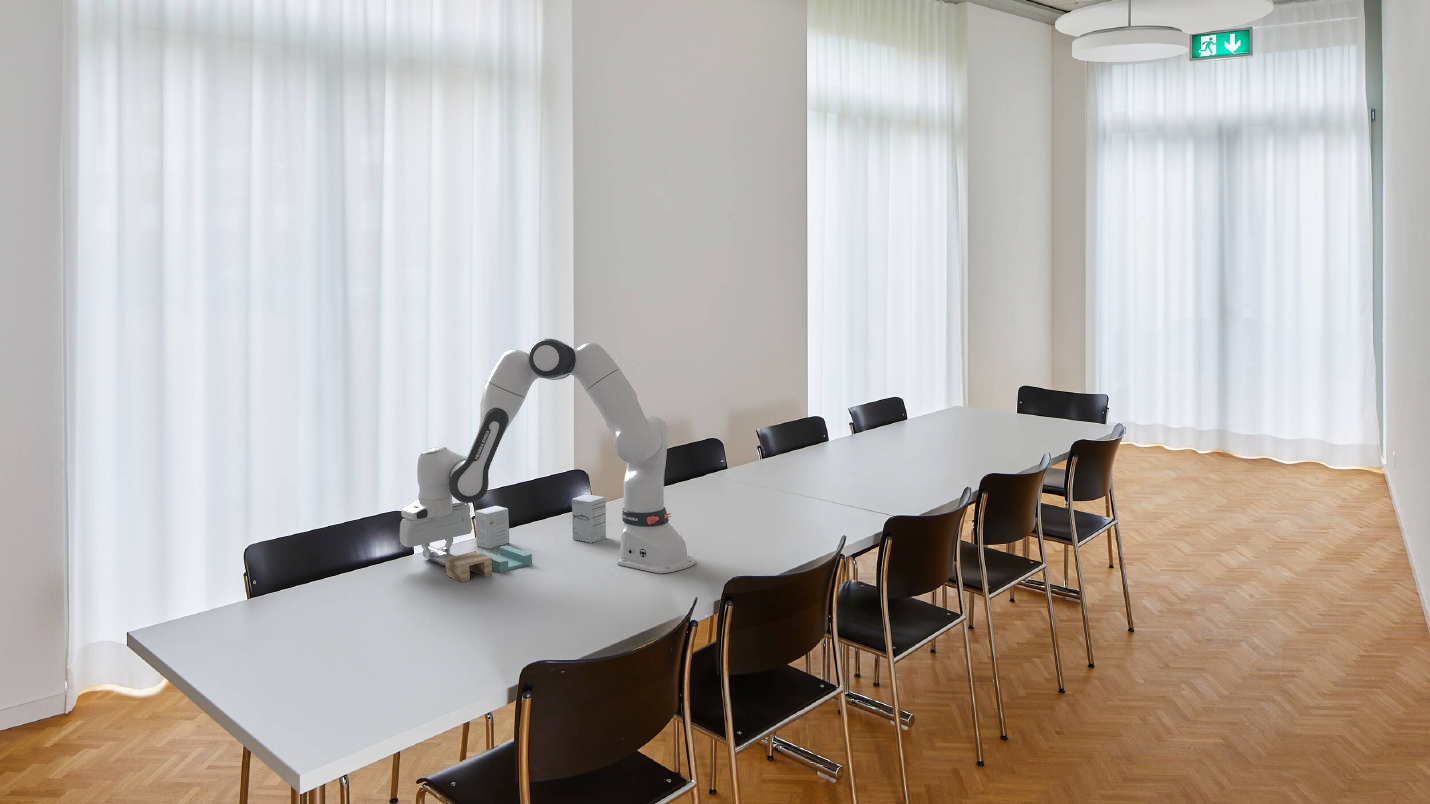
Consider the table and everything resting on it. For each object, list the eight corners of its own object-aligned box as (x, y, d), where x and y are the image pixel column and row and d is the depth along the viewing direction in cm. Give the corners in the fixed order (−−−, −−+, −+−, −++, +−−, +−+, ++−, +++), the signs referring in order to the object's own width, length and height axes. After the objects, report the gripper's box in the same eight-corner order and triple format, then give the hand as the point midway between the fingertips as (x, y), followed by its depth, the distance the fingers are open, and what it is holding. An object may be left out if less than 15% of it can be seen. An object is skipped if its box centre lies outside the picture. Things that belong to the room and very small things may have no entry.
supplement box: (571, 540, 285) (570, 498, 283) (587, 534, 291) (586, 493, 290) (591, 543, 281) (590, 501, 280) (607, 537, 288) (606, 496, 286)
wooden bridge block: (492, 574, 254) (491, 557, 253) (462, 582, 247) (461, 565, 247) (475, 568, 259) (475, 551, 259) (446, 575, 253) (445, 558, 252)
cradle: (532, 564, 262) (531, 554, 262) (500, 572, 255) (500, 562, 255) (507, 554, 271) (507, 545, 270) (476, 562, 264) (475, 552, 263)
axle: (469, 570, 256) (468, 558, 256) (457, 574, 254) (456, 561, 253) (434, 556, 269) (433, 544, 268) (423, 559, 266) (422, 547, 266)
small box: (497, 539, 286) (496, 505, 285) (510, 543, 283) (508, 508, 281) (475, 545, 280) (474, 510, 278) (487, 549, 276) (486, 513, 275)
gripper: (463, 498, 271) (465, 545, 273) (395, 511, 257) (398, 561, 259) (475, 501, 267) (477, 550, 269) (407, 515, 253) (409, 566, 254)
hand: (438, 555), depth 264 cm, fingers closed on axle, 3 cm apart
